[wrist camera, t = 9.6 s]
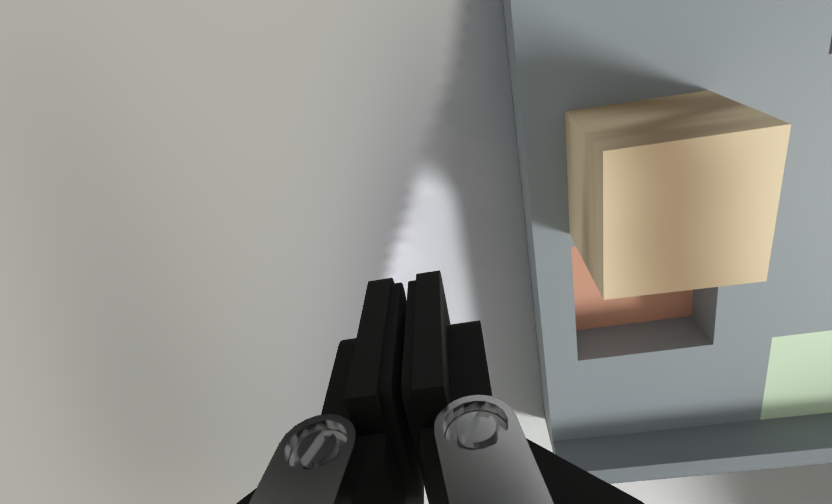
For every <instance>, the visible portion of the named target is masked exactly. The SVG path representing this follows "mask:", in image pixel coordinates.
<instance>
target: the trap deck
mask: <svg viewBox="0 0 832 504" xmlns="http://www.w3.org/2000/svg"><path fill="white" fill-rule="evenodd" d="M503 9H504V18H505V28H506V38H507V48H508V58H509V68H510V77H511V87H512V97H513V107H514V117H515V127H516V136H517V146H518V156H519V166H520V176H521V186H522V196H523V205H524V215H525V225H526V235H527V245H528V255H529V264H530V274H531V284H532V294H533V304H534V314H535V323H536V333H537V343H538V353H539V363H540V373H541V382H542V392H543V402H544V412H545V420H546V424H547V429H548V433H549V437H550V441H551V445H552V449H553V453H554V454H556V455H558V456H559V457H561V458H563V459H565V460H567V461H569V462H570V463H572V464H574V465H576V466H578V467H579V468H581V469H583V470H585V471H587V472H589V473H590V474H592V475H594V476H596V477H598V478H600V479H601V480H603V481H605V482H607V483H609V484H613V483H623V482H634V481H645V480H656V479H666V478H677V477H688V476H699V475H709V474H720V473H731V472H741V471H752V470H763V469H774V468H784V467H795V466H806V465H817V464H827V463H832V0H503ZM703 90H710V91H712V92H714V93H717V94H719V95H722V96H724V97H727V98H729V99H732V100H734V101H736V102H739V103H741V104H744V105H746V106H749V107H751V108H753V109H756V110H758V111H761V112H763V113H766V114H768V115H770V116H773V117H775V118H778V119H780V120H783V121H785V122H787V123H790V124H791V129H790V136H789V142H788V148H787V155H786V161H785V167H784V174H783V180H782V186H781V192H780V199H779V205H778V211H777V218H776V224H775V230H774V237H773V243H772V249H771V256H770V262H769V268H768V275H767V281H764V282H755V283H746V284H738V285H729V286H720V287H712V288H703V289H694V290H685V291H677V292H668V293H659V294H651V295H642V296H633V297H624V298H616V299H607V300H603V298H602V296H601V294H600V292H599V290H598V288H597V286H596V284H595V282H594V280H593V278H592V277H591V275H590V273H589V271H588V269H587V267H586V265H585V263H584V261H583V259H582V257H581V255H580V253H579V251H578V249H577V247H576V245H575V244H574V242H573V240H572V238H571V236H570V234H569V206H568V178H567V150H566V122H565V112H566V111H573V110H579V109H586V108H592V107H599V106H605V105H612V104H618V103H625V102H632V101H638V100H645V99H651V98H658V97H664V96H671V95H677V94H684V93H690V92H697V91H703Z"/></svg>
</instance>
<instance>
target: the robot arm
mask: <svg viewBox="0 0 832 504" xmlns="http://www.w3.org/2000/svg"><path fill="white" fill-rule="evenodd" d="M424 486H425V490H426V494H427V498H428V502H429V504H644V503H643V502H641V501H640V500H638V499H636V498H634V497H632V496H631V495H629V494H627V493H625V492H623V491H621V490H620V489H618V488H616V487H614V486H612V485H611V484H609V483H607V482H605V481H603V480H601V479H600V478H598V477H596V476H594V475H592V474H590V473H589V472H587V471H585V470H583V469H581V468H579V467H578V466H576V465H574V464H572V463H570V462H569V461H567V460H565V459H563V458H561V457H559V456H558V455H556V454H554V453H552V452H550V451H548V450H547V449H545V448H543V447H541V446H539V445H537V444H536V443H534V442H532V441H530V440H528V439H527V438H526V437H525V435H524V433H523V430H522V428H521V426H520V423H519V421H518V419H517V416H516V414H515V413H514V411H513V410H512V408H511V407H510V406H509V405H508V404H507V403H505V402H504V401H502V400H501V399H498V398H495V397H492V392H491V385H490V379H489V373H488V366H487V360H486V354H485V347H484V341H483V335H482V328H481V322H480V321H473V322H466V323H459V324H452V325H450V320H449V314H448V309H447V304H446V299H445V293H444V288H443V283H442V277H441V273H440V271H433V272H427V273H420V274H417V275H416V280H415V281H409V282H408V293H407V300H406V296H405V291H404V287H403V284H402V283H395V284H394V281H393V279H392V278H388V279H381V280H375V281H369V282H368V286H367V290H366V295H365V300H364V305H363V310H362V314H361V319H360V324H359V329H358V334H357V338H354V339H347V340H342V341H340V344H339V346H338V350H337V354H336V358H335V362H334V366H333V370H332V374H331V378H330V382H329V386H328V390H327V394H326V397H325V401H324V406H323V409H322V413H321V415H317V416H314V417H311V418H309V419H306V420H304V421H302V422H301V423H299V424H297V425H296V426H294V427H293V428H292V429H291V430H290V431H289V432H288V433H286V434H285V436H284V437H283V439H282V440H281V442H280V443H279V445H278V447H277V449H276V451H275V453H274V455H273V457H272V459H271V461H270V463H269V465H268V467H267V469H266V471H265V473H264V474H263V477H262V478H261V480H260V482H259V484H258V486H257V488H256V489H255V490H253V491H252V492H251V493H250V494H248V495H247V496H246V497H244V498H243V499H242V500H240V501H239V502H238V503H237V504H424Z"/></svg>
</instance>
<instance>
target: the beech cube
mask: <svg viewBox="0 0 832 504" xmlns="http://www.w3.org/2000/svg"><path fill="white" fill-rule="evenodd" d="M565 122H566V150H567V178H568V206H569V234H570V236H571V238H572V240H573V242H574V244H575V245H576V247H577V249H578V251H579V253H580V255H581V257H582V259H583V261H584V263H585V265H586V267H587V269H588V271H589V273H590V275H591V277H592V278H593V280H594V282H595V284H596V286H597V288H598V290H599V292H600V294H601V296H602V298H603V300H607V299H616V298H624V297H633V296H642V295H651V294H659V293H668V292H677V291H685V290H694V289H703V288H712V287H720V286H729V285H738V284H746V283H755V282H764V281H767V275H768V268H769V262H770V256H771V249H772V243H773V237H774V230H775V224H776V218H777V211H778V205H779V199H780V192H781V186H782V180H783V174H784V167H785V161H786V155H787V148H788V142H789V136H790V129H791V124H790V123H787V122H785V121H783V120H780V119H778V118H775V117H773V116H770V115H768V114H766V113H763V112H761V111H758V110H756V109H753V108H751V107H749V106H746V105H744V104H741V103H739V102H736V101H734V100H732V99H729V98H727V97H724V96H722V95H719V94H717V93H714V92H712V91H710V90H703V91H697V92H690V93H684V94H677V95H671V96H664V97H658V98H651V99H645V100H638V101H632V102H625V103H618V104H612V105H605V106H599V107H592V108H586V109H579V110H573V111H566V112H565Z"/></svg>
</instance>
